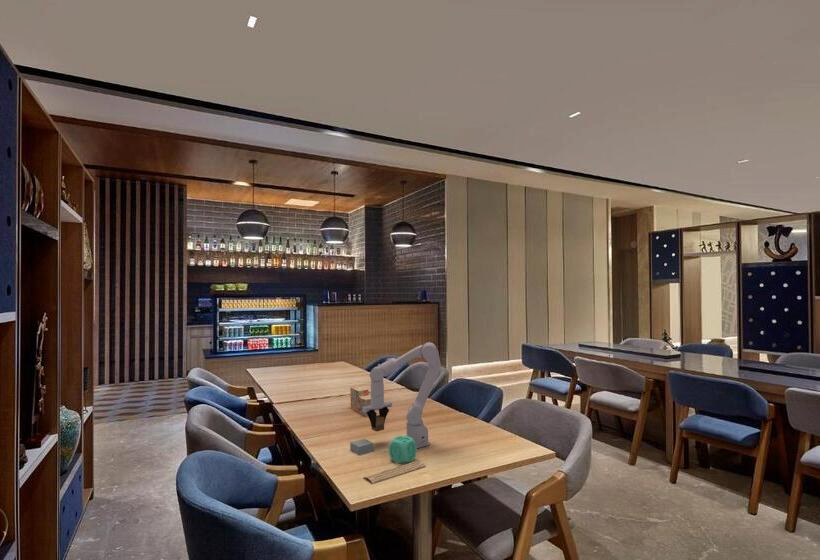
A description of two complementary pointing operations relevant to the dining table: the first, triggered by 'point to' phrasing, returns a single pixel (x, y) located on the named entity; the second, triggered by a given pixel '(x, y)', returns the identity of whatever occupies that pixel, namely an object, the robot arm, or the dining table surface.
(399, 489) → the dining table surface
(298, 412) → the dining table surface
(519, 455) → the dining table surface
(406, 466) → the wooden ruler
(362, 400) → the stack of blocks
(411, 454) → the decorative dice
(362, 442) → the pedestal block
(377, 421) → the walnut block
